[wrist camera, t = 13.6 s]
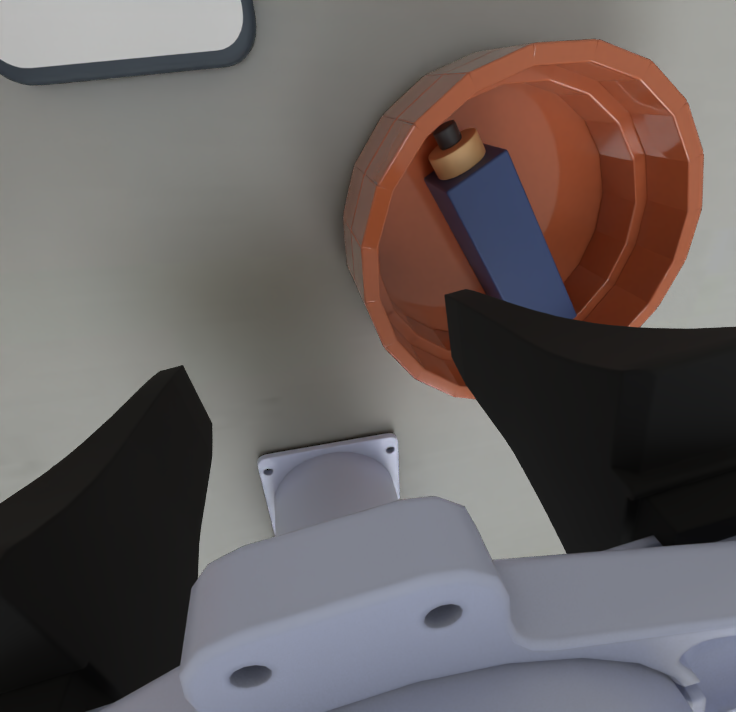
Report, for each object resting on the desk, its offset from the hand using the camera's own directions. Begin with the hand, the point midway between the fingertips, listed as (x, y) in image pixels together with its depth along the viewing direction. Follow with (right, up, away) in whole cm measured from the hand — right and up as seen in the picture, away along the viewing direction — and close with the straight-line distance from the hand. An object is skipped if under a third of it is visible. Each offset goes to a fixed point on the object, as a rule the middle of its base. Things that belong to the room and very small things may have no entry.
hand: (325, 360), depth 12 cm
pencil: (+7, +6, +9) cm, 12 cm away
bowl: (+7, +6, +9) cm, 13 cm away
